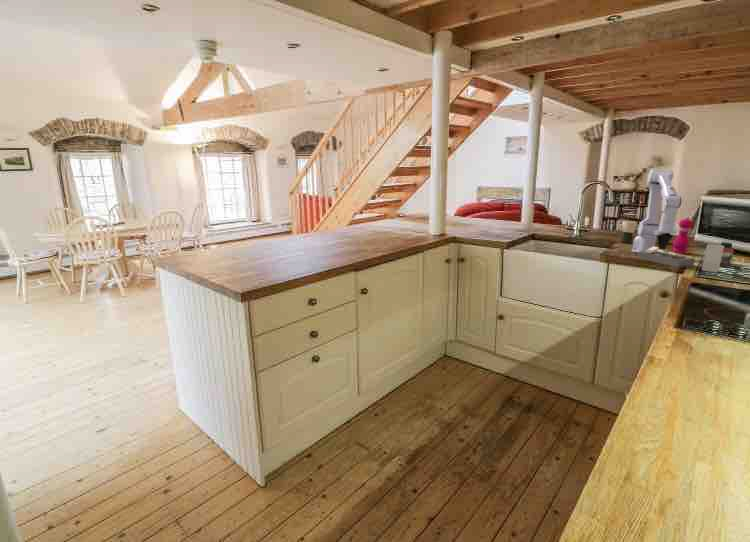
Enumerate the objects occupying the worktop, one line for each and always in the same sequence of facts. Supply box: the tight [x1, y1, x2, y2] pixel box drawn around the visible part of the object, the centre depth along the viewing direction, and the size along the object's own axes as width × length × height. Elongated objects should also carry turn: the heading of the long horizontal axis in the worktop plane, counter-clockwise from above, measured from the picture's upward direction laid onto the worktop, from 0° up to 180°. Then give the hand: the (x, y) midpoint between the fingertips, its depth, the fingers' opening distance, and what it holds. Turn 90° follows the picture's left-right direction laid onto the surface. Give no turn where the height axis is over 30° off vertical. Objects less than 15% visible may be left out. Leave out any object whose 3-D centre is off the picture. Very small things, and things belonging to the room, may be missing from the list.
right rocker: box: [668, 251, 683, 257], centre depth 198 cm, size 3×6×1 cm, turn 115°
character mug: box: [618, 220, 639, 244], centre depth 250 cm, size 11×7×13 cm, turn 80°
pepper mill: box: [672, 215, 693, 254], centre depth 225 cm, size 7×7×20 cm
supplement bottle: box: [720, 241, 734, 268], centre depth 199 cm, size 6×6×11 cm
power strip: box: [636, 251, 696, 269], centre depth 204 cm, size 20×12×4 cm, turn 25°
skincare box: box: [701, 243, 724, 273], centre depth 188 cm, size 6×4×12 cm
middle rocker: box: [657, 249, 670, 255], centre depth 203 cm, size 3×6×1 cm, turn 115°
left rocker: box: [646, 246, 660, 253], centre depth 208 cm, size 3×6×1 cm, turn 115°
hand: (661, 248), depth 201 cm, fingers closed
